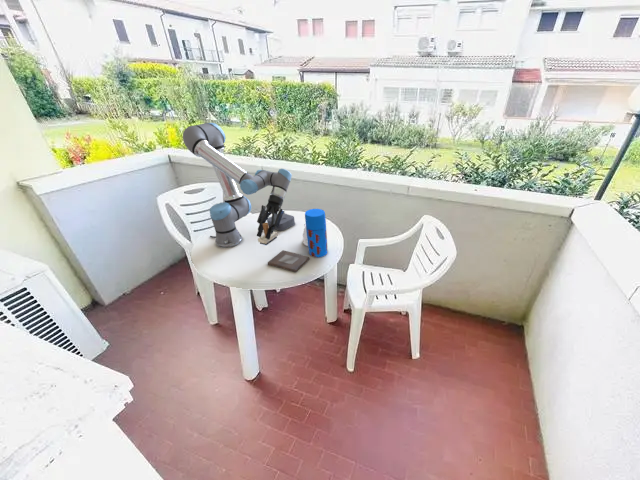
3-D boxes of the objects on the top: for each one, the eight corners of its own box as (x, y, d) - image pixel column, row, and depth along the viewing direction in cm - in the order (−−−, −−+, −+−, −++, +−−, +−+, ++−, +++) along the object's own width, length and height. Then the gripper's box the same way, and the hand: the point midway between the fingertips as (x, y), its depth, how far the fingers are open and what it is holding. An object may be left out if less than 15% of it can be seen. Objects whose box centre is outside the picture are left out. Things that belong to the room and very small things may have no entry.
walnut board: (268, 264, 153) (267, 262, 153) (283, 252, 164) (282, 249, 163) (295, 272, 147) (295, 269, 147) (309, 259, 158) (309, 256, 157)
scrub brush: (266, 245, 149) (262, 228, 143) (258, 243, 151) (255, 226, 145) (277, 237, 156) (274, 220, 151) (270, 235, 158) (267, 219, 152)
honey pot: (326, 245, 171) (324, 217, 161) (305, 248, 168) (301, 220, 157) (321, 235, 181) (319, 209, 171) (301, 238, 178) (298, 211, 167)
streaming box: (296, 224, 195) (295, 217, 192) (281, 232, 185) (279, 224, 182) (282, 218, 201) (281, 212, 199) (266, 226, 192) (265, 219, 189)
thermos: (318, 245, 170) (315, 206, 156) (331, 251, 164) (329, 211, 150) (305, 253, 163) (300, 213, 149) (318, 259, 157) (314, 218, 143)
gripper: (294, 202, 152) (280, 243, 149) (267, 197, 158) (253, 236, 155) (287, 196, 145) (272, 238, 142) (259, 191, 151) (244, 232, 148)
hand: (262, 237), depth 149 cm, fingers closed on scrub brush, 5 cm apart
